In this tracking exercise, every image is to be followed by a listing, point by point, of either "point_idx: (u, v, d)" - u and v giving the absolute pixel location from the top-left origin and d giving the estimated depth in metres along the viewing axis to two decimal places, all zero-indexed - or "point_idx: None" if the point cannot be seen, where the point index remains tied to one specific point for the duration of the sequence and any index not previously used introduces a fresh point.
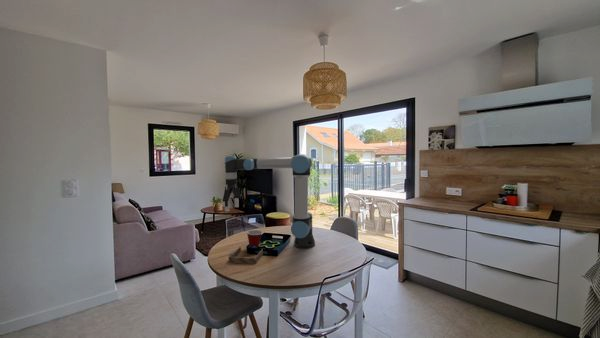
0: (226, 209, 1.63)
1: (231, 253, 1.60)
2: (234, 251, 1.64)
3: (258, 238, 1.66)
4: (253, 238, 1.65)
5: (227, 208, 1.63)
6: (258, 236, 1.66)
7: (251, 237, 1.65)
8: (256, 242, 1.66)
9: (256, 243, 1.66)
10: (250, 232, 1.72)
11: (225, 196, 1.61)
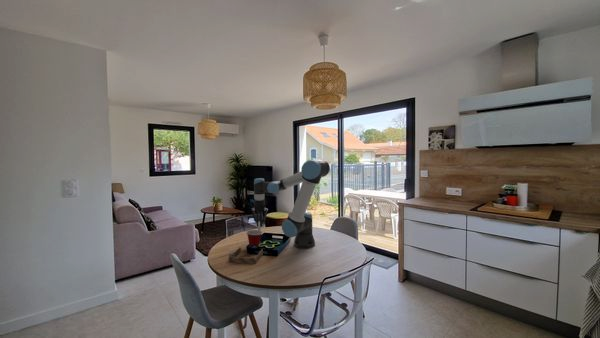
0: None
1: (231, 253, 1.60)
2: (234, 251, 1.64)
3: (258, 238, 1.66)
4: (253, 238, 1.65)
5: None
6: (258, 236, 1.66)
7: (251, 237, 1.65)
8: (256, 242, 1.66)
9: (256, 243, 1.66)
10: (250, 232, 1.72)
11: None
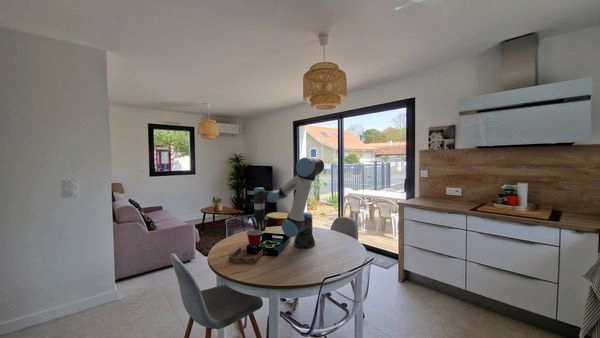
0: None
1: (231, 253, 1.60)
2: (234, 251, 1.64)
3: (258, 238, 1.66)
4: (253, 238, 1.65)
5: None
6: (258, 236, 1.66)
7: (251, 237, 1.65)
8: (256, 242, 1.66)
9: (256, 243, 1.66)
10: (250, 232, 1.72)
11: None
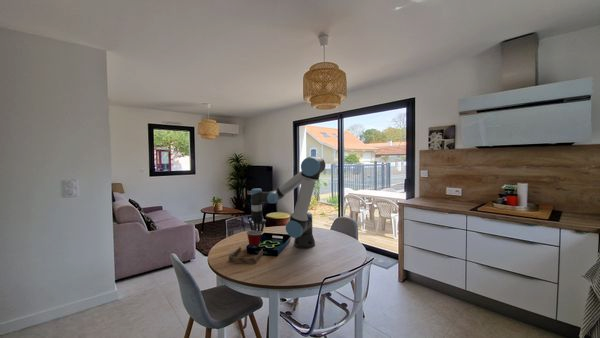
0: None
1: (231, 253, 1.60)
2: (234, 251, 1.64)
3: (258, 238, 1.66)
4: (253, 238, 1.65)
5: None
6: (258, 236, 1.66)
7: (251, 237, 1.65)
8: (256, 242, 1.66)
9: (256, 243, 1.66)
10: (250, 232, 1.72)
11: None
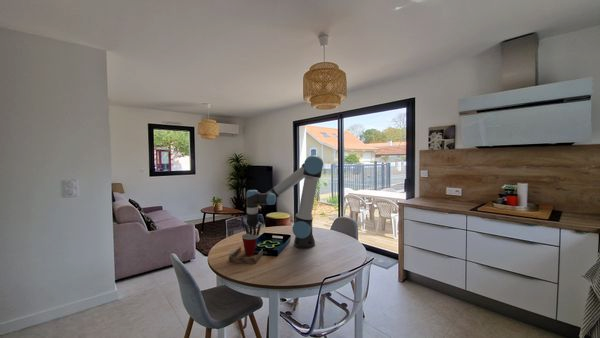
0: None
1: (231, 253, 1.60)
2: (234, 251, 1.64)
3: (254, 242, 1.58)
4: (249, 242, 1.57)
5: None
6: (254, 240, 1.58)
7: (247, 241, 1.57)
8: (252, 247, 1.58)
9: (252, 248, 1.58)
10: (245, 236, 1.64)
11: None
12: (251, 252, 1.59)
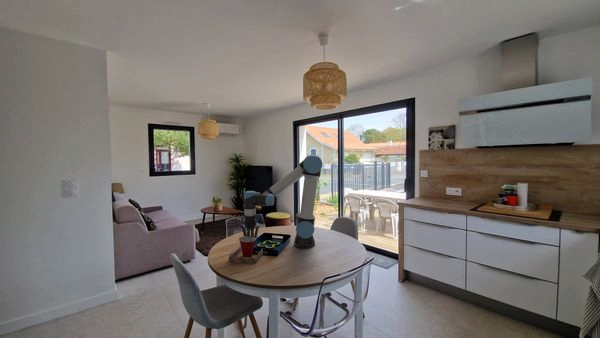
0: None
1: (231, 253, 1.60)
2: (234, 251, 1.64)
3: (251, 245, 1.54)
4: (246, 245, 1.52)
5: None
6: (252, 243, 1.54)
7: (244, 244, 1.52)
8: (249, 249, 1.54)
9: (249, 251, 1.54)
10: (242, 238, 1.59)
11: None
12: (248, 255, 1.54)
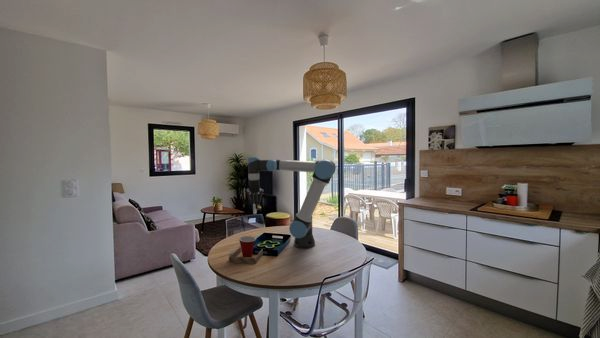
0: None
1: (231, 253, 1.60)
2: (234, 251, 1.64)
3: (251, 245, 1.54)
4: (246, 245, 1.52)
5: None
6: (252, 243, 1.53)
7: (244, 244, 1.52)
8: (249, 249, 1.53)
9: (249, 251, 1.54)
10: (242, 238, 1.59)
11: None
12: (248, 255, 1.54)
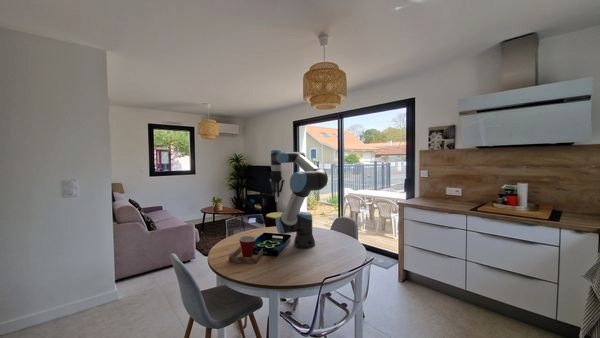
0: None
1: (231, 253, 1.60)
2: (234, 251, 1.64)
3: (251, 245, 1.54)
4: (246, 245, 1.52)
5: None
6: (252, 243, 1.53)
7: (244, 244, 1.52)
8: (249, 249, 1.53)
9: (249, 251, 1.54)
10: (242, 238, 1.59)
11: None
12: (248, 255, 1.54)
